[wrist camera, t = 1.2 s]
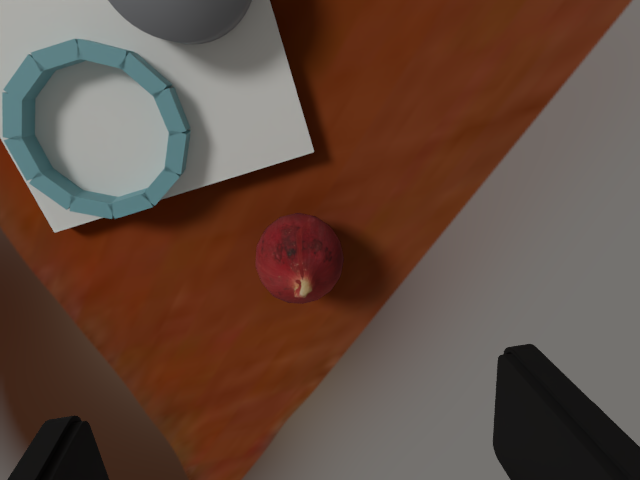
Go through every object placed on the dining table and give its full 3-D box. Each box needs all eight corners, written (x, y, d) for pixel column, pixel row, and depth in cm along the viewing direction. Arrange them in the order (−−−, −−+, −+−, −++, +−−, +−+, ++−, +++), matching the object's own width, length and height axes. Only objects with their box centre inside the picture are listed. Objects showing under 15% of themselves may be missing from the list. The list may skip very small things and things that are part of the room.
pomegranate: (247, 211, 31) (239, 256, 24) (325, 191, 31) (341, 230, 24) (270, 281, 33) (268, 342, 26) (342, 262, 33) (362, 318, 26)
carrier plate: (229, -134, 24) (220, -176, 20) (312, 148, 30) (318, 161, 26) (-80, -34, 24) (-154, -55, 20) (64, 225, 30) (31, 250, 26)
